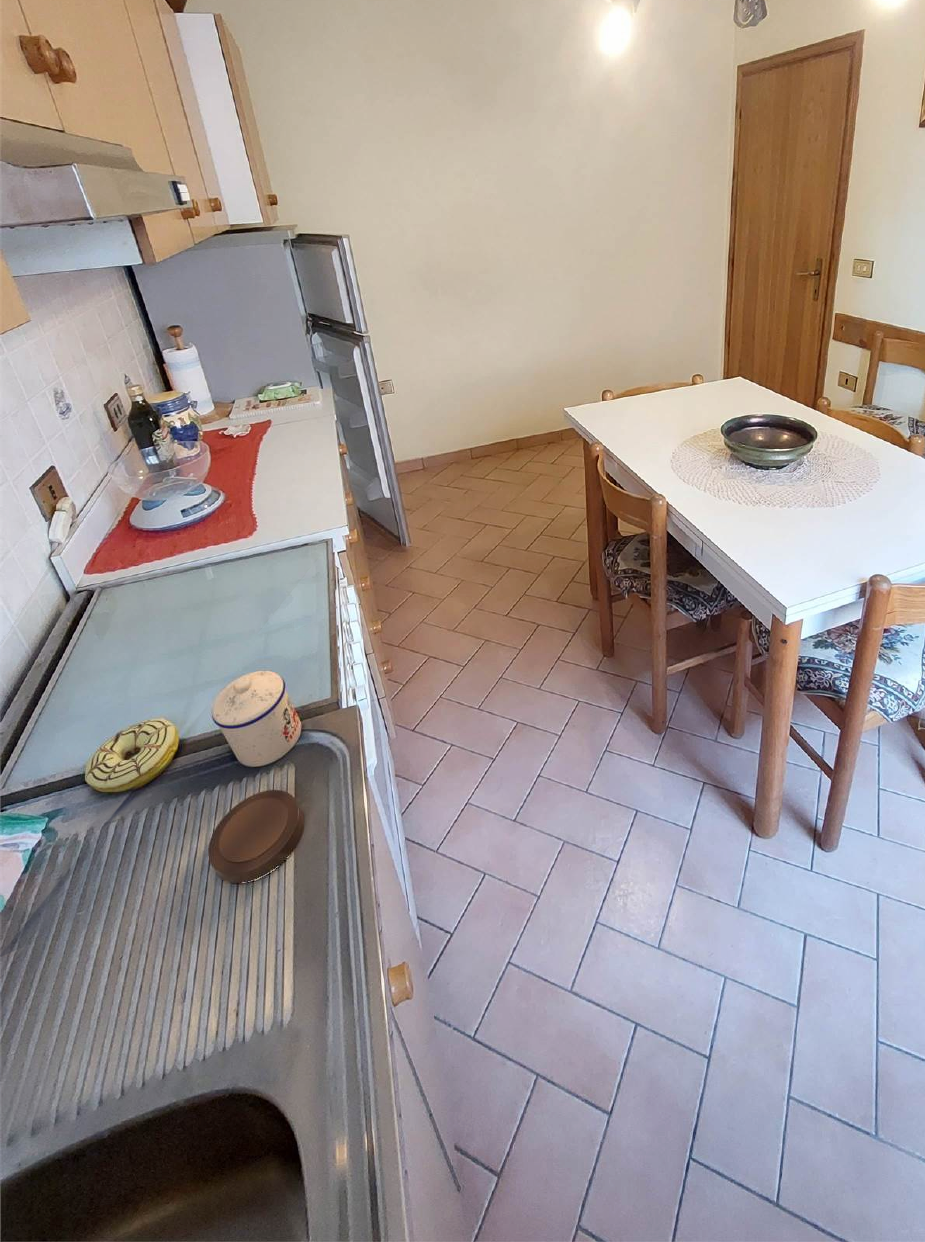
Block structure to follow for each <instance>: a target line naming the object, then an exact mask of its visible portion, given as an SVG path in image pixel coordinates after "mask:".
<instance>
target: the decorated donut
mask: <svg viewBox="0 0 925 1242" xmlns="http://www.w3.org/2000/svg"><path fill="white" fill-rule="evenodd" d="M178 733H179V732H178V729H177V727H176V725H174V724H173V723H172V722H170V721H168V720H167V719H165V718H164V717H158V718H149V719H146V720H143V721H141V722H138V723H135V724H132V725H130V726H128V727H125V728H123V729H122V730H121V731H118V732H116V733H115V734H114V735H113V736H112V737H110V738H109V739H108V740H106V741H105V742H103V744H102V745H100V746H99V747H98V749H97V750H95V752H94V753H93V754H92V755H91V756H90V758H89V759H88V761H87V762H86V765H85V769H84V770H85V771H84V772H85V773H84V780H85V782H86V783H87V784H88V785H89V786H90V787H91V788H93V789H94V790H96V791H97V792H102V793H119V792H120V793H121V792H125V791H127V790H131V789H132V791H134V790H136V789H139V788H142V787H143V786H145V785H147V784H148V783H150V782H151V781H153V780H154V779H155V778H157V777H158V776H160V775H161V774H162V773H163V771H164V770H165V769H166V768H167V767H168V766H169V765H170V764H171V762H172V761H173V759H174V757H175V755H176V753H177V751H178V747H179V742H180V737H179V735H178ZM138 751H139V752H138ZM136 752H138V753H137V754H135V753H136ZM133 754H135V755H134V756H132V757H130V756H131V755H133ZM129 757H130V758H129ZM128 758H129V759H128ZM161 772H162V773H161Z"/></svg>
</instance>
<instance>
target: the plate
mask: <svg viewBox="0 0 925 1242" xmlns="http://www.w3.org/2000/svg"><path fill="white" fill-rule="evenodd" d="M304 827H305V818H304V813H303V811H302V809H301V806H300V805H299V803H298V801H297V800H296V798H295V797H294V796H293V795H292V793H291V794H290V793H289V792H287V791H284V790H281V789H269V790H264V791H261V792H258V793H254V794H253V795H251V796H248V797H246V798H244V799H243V800H242V801H240V802H239V803H237V804H236V805H235V806H233V807H232V809H230V810H229V811H228V812H227V813H226V814H225V815H224V816H223V817H222V819H221V820H220V821H219V823H218V824H217V825H216V827H215V828H214V830H213V833H212V835H211V837H210V840H209V844H208V849H207V855H208V860H209V863H210V865H211V867H212V868H213V869H214V871H215V872H216V874H217V875H218V876H219V878H220V877H221V878H220V879H221V880H223V879H224V880H225V881H224V880H223V881H224V882H226V881H228V882H232V883H242V882H248V881H251V880H254V879H257V878H259V877H261V876H263V875H265V874H267V873H268V872H270V871H271V870H273V869H275V868H276V867H277V866H279V865H280V864H282V863H283V862H284V860H286V859H287V857H288V856H289V855H290V854H291V853H292V852H293V853H294V851H295V850H296V849H297V847H298V845H299V843H300V841H301V838H302V836H303V833H304ZM298 842H299V843H298ZM297 844H298V845H297ZM296 846H297V847H296ZM294 849H295V850H294ZM293 850H294V851H293ZM293 853H292V854H293ZM292 854H291V855H292ZM291 855H290V856H291ZM290 856H289V857H290ZM287 860H288V859H287ZM287 860H286V861H287ZM284 863H285V862H284ZM284 863H283V864H284ZM283 864H282V865H283ZM228 882H227V883H228Z"/></svg>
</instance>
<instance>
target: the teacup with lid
mask: <svg viewBox="0 0 925 1242" xmlns="http://www.w3.org/2000/svg"><path fill="white" fill-rule="evenodd" d="M211 718H212V721H213V723H214V724H215V725H216V726H218V727H219V729H220V730H221V732H222V734H223V736H224V738H225V740H226V741H227V743H228V745H229V747H230V749H231V750H232V752H233V755H234V756H235V757H236V760H237V761H238V762H239V763H240V764H241V765H244V766H246V767H250V768H257V767H258V768H259V767H263V766H267V765H269V764H270V765H271V764H272V763H274V762H276V761H278V760H279V759H281V758H283V757H284V756H286V755H287V754H288V752H290V751H291V750H292V749H293V748H294V746H295V745H296V743H297V742H298V740H299V738H300V736H301V734H302V733H301V732H302V723H301V719H300V717H299V715H298V713H297V711H296V709H295V706H294V704H293V702H292V700H291V698H290V696H289V694H288V692H287V689H286V683H285V680H284V679H283V677H282V676H280V675H279V674H278V673H276V672H273V671H271V670H257V671H252V672H250V673H247V674H244V675H242V676H240V677H238V678H236V679H234V680H232V681H231V682H230V683H229V684H227V685H226V686H225V687H224V688H223V689H222V690H221V691H220V692H219V693H218V695H217V696H216V698H215V699H214V701H213V704H212V707H211Z"/></svg>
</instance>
